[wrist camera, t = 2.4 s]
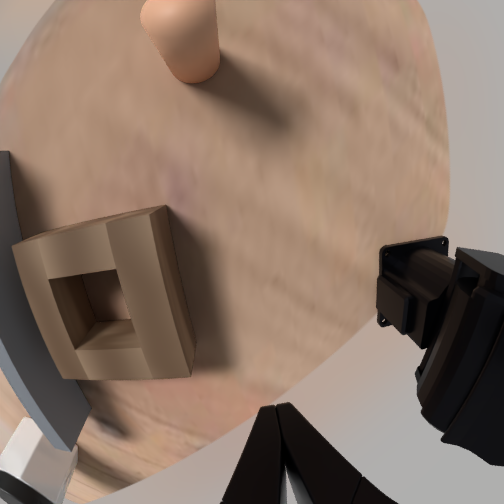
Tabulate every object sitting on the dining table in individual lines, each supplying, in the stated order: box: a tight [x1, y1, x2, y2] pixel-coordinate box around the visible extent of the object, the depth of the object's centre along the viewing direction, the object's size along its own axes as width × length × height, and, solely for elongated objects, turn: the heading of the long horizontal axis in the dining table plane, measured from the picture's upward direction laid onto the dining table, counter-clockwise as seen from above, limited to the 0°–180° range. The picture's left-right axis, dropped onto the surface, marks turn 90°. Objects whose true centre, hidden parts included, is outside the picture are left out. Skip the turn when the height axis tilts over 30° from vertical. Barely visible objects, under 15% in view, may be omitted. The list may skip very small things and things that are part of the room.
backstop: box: [0, 151, 92, 452], centre depth 16 cm, size 2×24×6 cm, turn 8°
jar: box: [0, 417, 78, 504], centre depth 18 cm, size 9×8×12 cm
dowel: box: [140, 0, 220, 83], centre depth 12 cm, size 3×3×7 cm
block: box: [12, 205, 197, 380], centre depth 17 cm, size 10×10×4 cm
